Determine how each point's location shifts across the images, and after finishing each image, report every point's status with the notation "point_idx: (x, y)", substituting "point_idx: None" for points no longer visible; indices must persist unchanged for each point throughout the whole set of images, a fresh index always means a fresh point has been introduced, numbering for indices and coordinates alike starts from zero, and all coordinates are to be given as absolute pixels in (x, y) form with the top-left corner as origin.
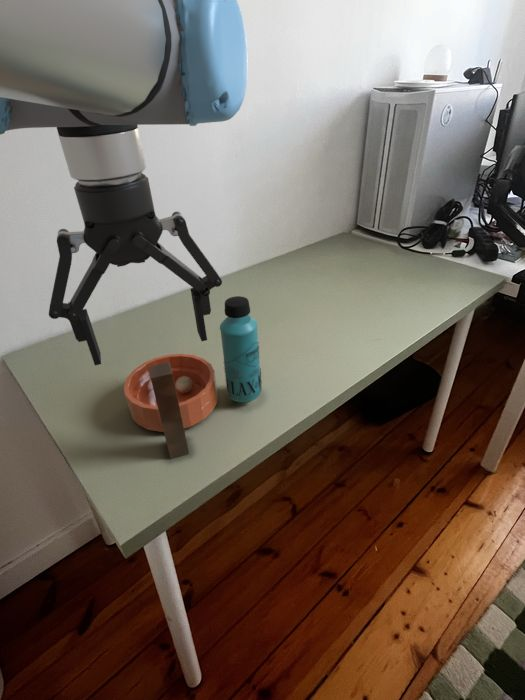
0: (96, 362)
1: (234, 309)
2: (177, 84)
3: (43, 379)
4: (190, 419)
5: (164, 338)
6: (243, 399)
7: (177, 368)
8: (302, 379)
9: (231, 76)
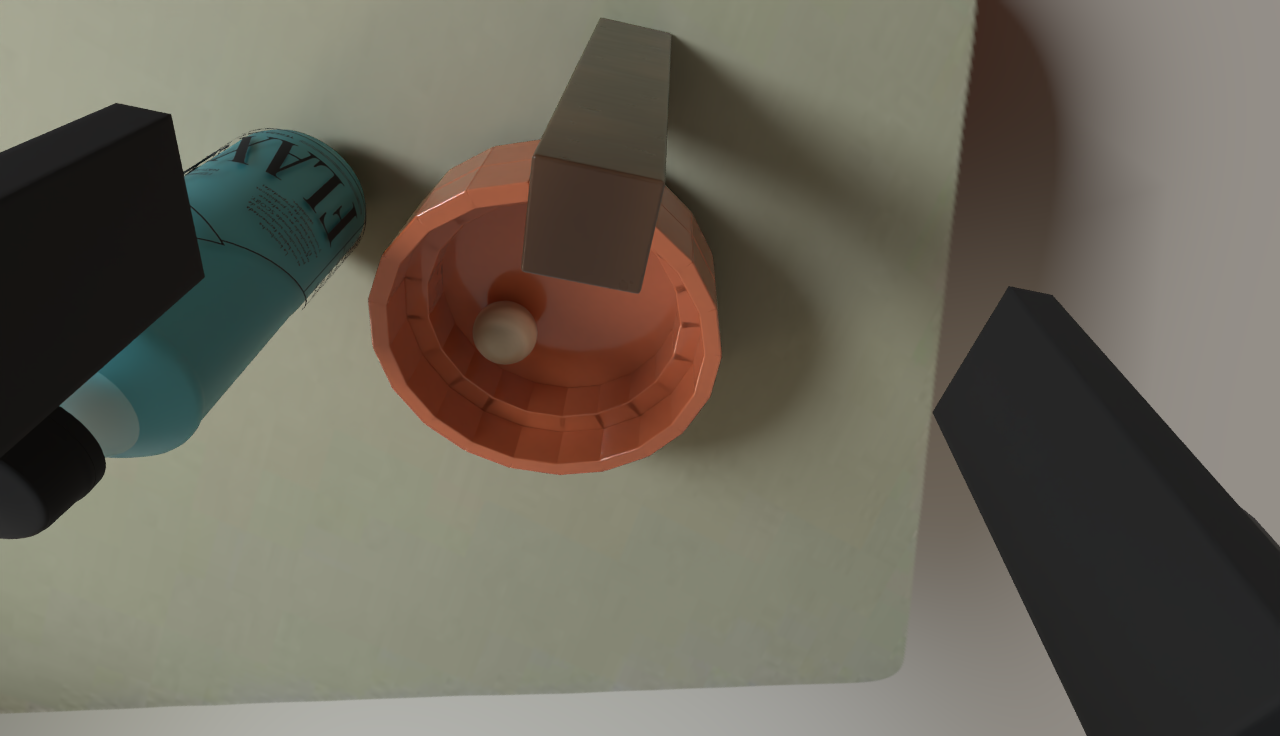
0: (1047, 302)
1: None
2: None
3: (864, 570)
4: None
5: (501, 563)
6: (310, 142)
7: (502, 410)
8: None
9: None
